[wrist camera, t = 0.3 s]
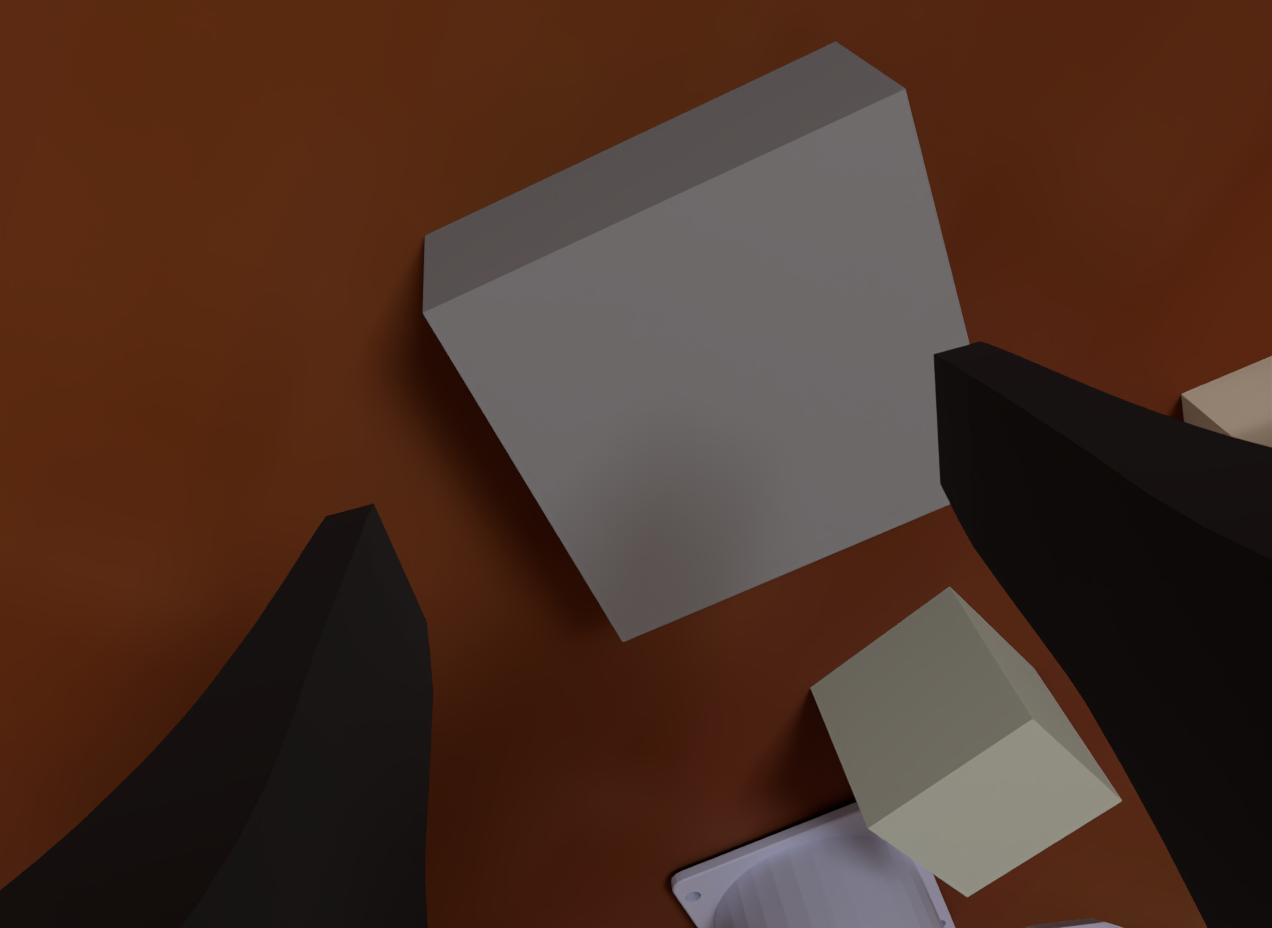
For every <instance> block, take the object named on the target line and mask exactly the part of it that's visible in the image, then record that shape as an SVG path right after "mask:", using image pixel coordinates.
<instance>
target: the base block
mask: <svg viewBox="0 0 1272 928" xmlns="http://www.w3.org/2000/svg"><path fill="white" fill-rule="evenodd" d="M423 314H424V316H425V318H426V319H427V321H428V323H429V324H430V326H431V328H432V329H433V331H434V332H435V334H436V336H437V337H438V339H439V341H440V342H441V344H442V346H443V347H444V349H445V351H446V352H447V354H448V356H449V357H450V359H451V360H452V362H453V364H454V365H455V367H456V369H457V370H458V372H459V374H460V375H461V377H462V379H463V380H464V382H465V384H466V385H467V387H468V388H469V390H470V392H471V393H472V395H473V397H474V398H475V400H476V402H477V403H478V405H479V407H480V408H481V410H482V411H483V413H484V415H485V416H486V418H487V420H488V421H489V423H490V425H491V426H492V428H493V430H494V431H495V433H496V435H497V436H498V438H499V439H500V441H501V443H502V444H503V446H504V448H505V449H506V451H507V453H508V454H509V456H510V458H511V459H512V461H513V463H514V464H515V466H516V467H517V469H518V471H519V472H520V474H521V476H522V477H523V479H524V481H525V482H526V484H527V486H528V487H529V489H530V491H531V492H532V494H533V495H534V497H535V499H536V500H537V502H538V504H539V505H540V507H541V509H542V510H543V512H544V514H545V515H546V517H547V519H548V520H549V522H550V523H551V525H552V527H553V528H554V530H555V532H556V533H557V535H558V537H559V538H560V540H561V542H562V543H563V545H564V547H565V548H566V550H567V551H568V553H569V555H570V556H571V558H572V560H573V561H574V563H575V565H576V566H577V568H578V570H579V571H580V573H581V575H582V576H583V578H584V579H585V581H586V583H587V584H588V586H589V588H590V589H591V591H592V593H593V594H594V596H595V598H596V599H597V601H598V602H599V604H600V606H601V607H602V609H603V611H604V612H605V614H606V616H607V617H608V619H609V621H610V622H611V624H612V626H613V627H614V629H615V630H616V632H617V634H618V635H619V637H620V639H621V640H622V642H625V641H627V640H630V639H632V638H635V637H637V636H639V635H642V634H644V633H646V632H649V631H651V630H653V629H656V628H658V627H661V626H663V625H665V624H668V623H670V622H672V621H675V620H677V619H679V618H682V617H684V616H687V615H689V614H691V613H694V612H696V611H698V610H701V609H703V608H705V607H708V606H710V605H713V604H715V603H717V602H720V601H722V600H724V599H727V598H729V597H731V596H734V595H736V594H739V593H741V592H743V591H746V590H748V589H750V588H753V587H755V586H758V585H760V584H762V583H765V582H767V581H769V580H772V579H774V578H776V577H779V576H781V575H784V574H786V573H788V572H791V571H793V570H795V569H798V568H800V567H802V566H805V565H807V564H810V563H812V562H814V561H817V560H819V559H821V558H824V557H826V556H828V555H831V554H833V553H836V552H838V551H840V550H843V549H845V548H847V547H850V546H852V545H854V544H857V543H859V542H862V541H864V540H866V539H869V538H871V537H873V536H876V535H878V534H880V533H883V532H885V531H888V530H890V529H892V528H895V527H897V526H899V525H902V524H904V523H907V522H909V521H911V520H914V519H916V518H918V517H921V516H923V515H925V514H928V513H930V512H933V511H935V510H937V509H940V508H942V507H944V506H947V505H949V504H950V502H949V500H948V498H947V496H946V494H945V492H944V490H943V489H942V487H941V485H940V470H939V451H938V432H937V412H936V393H935V373H934V354H936V353H939V352H943V351H947V350H951V349H954V348H958V347H962V346H966V345H969V340H968V336H967V332H966V328H965V324H964V320H963V316H962V312H961V308H960V304H959V300H958V296H957V292H956V289H955V285H954V281H953V277H952V273H951V269H950V265H949V261H948V257H947V253H946V249H945V245H944V241H943V237H942V233H941V229H940V225H939V221H938V217H937V213H936V209H935V205H934V201H933V197H932V193H931V189H930V185H929V181H928V177H927V173H926V169H925V165H924V161H923V157H922V153H921V149H920V145H919V141H918V137H917V133H916V129H915V125H914V121H913V118H912V114H911V110H910V106H909V102H908V98H907V94H906V90H905V88H903V87H902V86H900V85H899V84H897V83H896V82H895V81H893V80H892V79H890V78H889V77H887V76H886V75H884V74H883V73H881V72H880V71H878V70H877V69H875V68H874V67H872V66H871V65H869V64H868V63H867V62H865V61H864V60H862V59H861V58H859V57H858V56H856V55H855V54H853V53H852V52H850V51H849V50H847V49H846V48H844V47H843V46H842V45H840V44H839V43H837V42H834V43H832V44H830V45H827V46H825V47H823V48H821V49H819V50H817V51H815V52H813V53H811V54H808V55H806V56H804V57H802V58H800V59H798V60H796V61H794V62H792V63H789V64H787V65H785V66H783V67H781V68H779V69H777V70H775V71H772V72H770V73H768V74H766V75H764V76H762V77H760V78H758V79H756V80H753V81H751V82H749V83H747V84H745V85H743V86H741V87H739V88H737V89H734V90H732V91H730V92H728V93H726V94H724V95H722V96H720V97H717V98H715V99H713V100H711V101H709V102H707V103H705V104H703V105H701V106H698V107H696V108H694V109H692V110H690V111H688V112H686V113H684V114H682V115H679V116H677V117H675V118H673V119H671V120H669V121H667V122H665V123H662V124H660V125H658V126H656V127H654V128H652V129H650V130H648V131H646V132H643V133H641V134H639V135H637V136H635V137H633V138H631V139H629V140H626V141H624V142H622V143H620V144H618V145H616V146H614V147H612V148H610V149H607V150H605V151H603V152H601V153H599V154H597V155H595V156H593V157H591V158H588V159H586V160H584V161H582V162H580V163H578V164H576V165H574V166H571V167H569V168H567V169H565V170H563V171H561V172H559V173H557V174H555V175H552V176H550V177H548V178H546V179H544V180H542V181H540V182H538V183H536V184H533V185H531V186H529V187H527V188H525V189H523V190H521V191H519V192H516V193H514V194H512V195H510V196H508V197H506V198H504V199H502V200H500V201H497V202H495V203H493V204H491V205H489V206H487V207H485V208H483V209H481V210H478V211H476V212H474V213H472V214H470V215H468V216H466V217H464V218H461V219H459V220H457V221H455V222H453V223H451V224H449V225H447V226H445V227H442V228H440V229H438V230H436V231H434V232H432V233H430V234H428V235H426V236H425V249H424V284H423Z"/></svg>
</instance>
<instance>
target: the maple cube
mask: <svg viewBox="0 0 1272 928" xmlns="http://www.w3.org/2000/svg"><path fill="white" fill-rule="evenodd" d="M1181 397H1182V407H1183V417H1184V422H1186V423H1189V424H1192V425H1195V426H1198V427H1201V428H1204V429H1207V430H1211V431H1214V432H1217V433H1221V434H1224V435H1227V436H1231V437H1234V438H1238V439H1242V440H1246V441H1249V442H1253V443H1257V444H1261V445H1265V446H1268V447H1272V356H1271V357H1268V358H1266V359H1264V360H1261V361H1259V362H1257V363H1254V364H1252V365H1249V366H1247V367H1245V368H1242V369H1240V370H1237V371H1235V372H1233V373H1230V374H1228V375H1225V376H1223V377H1221V378H1218V379H1216V380H1214V381H1211V382H1209V383H1206V384H1204V385H1202V386H1199V387H1197V388H1194V389H1192V390H1190V391H1187V392H1185V393H1183V394H1181Z"/></svg>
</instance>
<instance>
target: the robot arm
mask: <svg viewBox="0 0 1272 928" xmlns="http://www.w3.org/2000/svg"><path fill="white" fill-rule="evenodd" d="M934 373H935V393H936V412H937V432H938V451H939V470H940V485H941V487H942V489H943V490H944V492H945V494H946V496H947V498H948V500H949V502H950V504H951V506H952V508H953V510H954V512H955V514H956V516H957V518H958V520H959V522H960V523H961V525H962V527H963V529H964V531H965V532H966V534H967V536H968V538H969V540H970V542H971V543H972V545H973V547H974V548H975V550H976V551H977V552H978V554H979V555H980V557H981V558H982V560H983V561H984V562H985V564H986V565H987V566H988V568H989V569H990V571H991V572H992V573H993V575H994V576H995V577H996V579H997V580H998V582H999V583H1000V584H1001V586H1002V587H1003V589H1004V590H1005V591H1006V593H1007V594H1008V595H1009V597H1010V598H1011V599H1012V601H1013V602H1014V604H1015V605H1016V606H1017V608H1018V609H1019V610H1020V612H1021V613H1022V614H1023V616H1024V617H1025V618H1026V620H1027V621H1028V622H1029V624H1030V625H1031V627H1032V628H1033V629H1034V631H1035V632H1036V633H1037V635H1038V636H1039V637H1040V639H1041V640H1042V641H1043V643H1044V644H1045V646H1046V647H1047V648H1048V650H1049V651H1050V652H1051V654H1052V655H1053V656H1054V658H1055V659H1056V660H1057V662H1058V663H1059V664H1060V666H1061V667H1062V669H1063V670H1064V671H1065V673H1066V674H1067V675H1068V677H1069V678H1070V680H1071V681H1072V683H1073V684H1074V686H1075V687H1076V689H1077V690H1078V692H1079V693H1080V695H1081V696H1082V698H1083V699H1084V701H1085V702H1086V704H1087V706H1088V707H1089V709H1090V711H1091V713H1092V714H1093V716H1094V718H1095V720H1096V721H1097V723H1098V725H1099V727H1100V728H1101V730H1102V732H1103V733H1104V735H1105V737H1106V739H1107V740H1108V742H1109V744H1110V746H1111V747H1112V749H1113V751H1114V753H1115V754H1116V756H1117V758H1118V759H1119V761H1120V763H1121V765H1122V766H1123V768H1124V770H1125V772H1126V774H1127V775H1128V777H1129V779H1130V781H1131V783H1132V785H1133V786H1134V788H1135V790H1136V792H1137V794H1138V796H1139V797H1140V799H1141V801H1142V803H1143V805H1144V807H1145V808H1146V810H1147V812H1148V814H1149V816H1150V818H1151V819H1152V821H1153V823H1154V825H1155V827H1156V829H1157V830H1158V832H1159V834H1160V836H1161V838H1162V840H1163V842H1164V844H1165V845H1166V847H1167V849H1168V851H1169V853H1170V855H1171V857H1172V859H1173V861H1174V863H1175V865H1176V867H1177V869H1178V871H1179V873H1180V875H1181V877H1182V879H1183V881H1184V882H1185V884H1186V886H1187V888H1188V890H1189V892H1190V894H1191V896H1192V898H1193V900H1194V902H1195V904H1196V906H1197V908H1198V910H1199V912H1200V914H1201V916H1202V918H1203V920H1204V921H1205V923H1206V926H1207V928H1272V447H1268V446H1265V445H1261V444H1257V443H1253V442H1249V441H1246V440H1242V439H1238V438H1234V437H1231V436H1227V435H1224V434H1221V433H1217V432H1214V431H1211V430H1207V429H1204V428H1201V427H1198V426H1195V425H1192V424H1189V423H1186V422H1184V421H1181V420H1178V419H1175V418H1172V417H1169V416H1166V415H1163V414H1160V413H1157V412H1155V411H1152V410H1149V409H1146V408H1144V407H1141V406H1138V405H1136V404H1133V403H1130V402H1128V401H1125V400H1123V399H1120V398H1118V397H1115V396H1112V395H1110V394H1107V393H1105V392H1103V391H1100V390H1098V389H1095V388H1093V387H1090V386H1088V385H1085V384H1083V383H1081V382H1078V381H1076V380H1074V379H1071V378H1069V377H1066V376H1064V375H1062V374H1059V373H1057V372H1055V371H1052V370H1050V369H1048V368H1045V367H1043V366H1041V365H1038V364H1036V363H1034V362H1031V361H1029V360H1027V359H1024V358H1022V357H1020V356H1017V355H1015V354H1013V353H1010V352H1008V351H1005V350H1003V349H1000V348H998V347H995V346H992V345H990V344H987V343H984V342H977V343H973V344H969V345H966V346H962V347H958V348H954V349H951V350H947V351H943V352H939V353H936V354H934ZM432 706H433V685H432V672H431V659H430V649H429V640H428V630H427V622H426V619H425V617H424V615H423V613H422V610H421V608H420V606H419V604H418V602H417V599H416V597H415V595H414V593H413V590H412V588H411V586H410V584H409V581H408V579H407V577H406V575H405V573H404V570H403V568H402V566H401V564H400V561H399V559H398V557H397V555H396V553H395V550H394V548H393V546H392V544H391V541H390V539H389V537H388V535H387V532H386V530H385V528H384V526H383V524H382V521H381V519H380V517H379V515H378V512H377V510H376V508H375V506H374V504H371V505H367V506H363V507H359V508H356V509H352V510H348V511H344V512H341V513H337V514H333V515H329V516H326V517H325V519H324V520H323V522H322V523H321V524H320V526H319V527H318V529H317V530H316V532H315V533H314V535H313V536H312V538H311V539H310V541H309V543H308V544H307V546H306V547H305V549H304V550H303V552H302V554H301V555H300V557H299V558H298V560H297V561H296V563H295V565H294V566H293V568H292V569H291V571H290V572H289V574H288V576H287V577H286V579H285V580H284V582H283V583H282V585H281V586H280V588H279V589H278V591H277V592H276V594H275V595H274V597H273V598H272V600H271V601H270V603H269V604H268V606H267V607H266V609H265V610H264V612H263V613H262V615H261V616H260V618H259V619H258V621H257V622H256V624H255V625H254V627H253V628H252V629H251V631H250V632H249V633H248V635H247V636H246V637H245V639H244V640H243V642H242V643H241V644H240V646H239V647H238V648H237V650H236V651H235V652H234V654H233V655H232V656H231V658H230V659H229V660H228V662H227V663H226V664H225V666H224V667H223V668H222V670H221V671H220V672H219V674H218V675H217V676H216V678H215V679H214V681H213V682H212V683H211V685H210V686H209V687H208V688H207V690H206V691H205V692H204V693H203V695H202V696H201V697H200V698H199V700H198V701H197V702H196V703H195V704H194V706H193V707H192V708H191V709H190V710H189V711H188V713H187V714H186V715H185V716H184V717H183V719H182V720H181V721H180V722H179V723H178V724H177V725H176V726H175V727H174V729H173V730H172V731H171V732H170V733H169V734H168V735H167V736H166V737H165V739H164V740H163V741H162V742H161V743H160V744H159V745H158V746H157V747H156V749H155V750H154V751H153V752H152V753H151V754H150V755H149V756H148V757H147V758H146V759H145V760H144V761H143V762H142V763H141V764H140V765H139V766H138V767H137V768H136V769H135V770H134V771H133V772H132V773H131V774H130V775H129V776H128V777H127V778H126V779H125V780H124V781H123V782H122V783H121V784H120V785H119V786H118V787H117V788H116V789H115V790H114V791H113V792H112V793H111V794H110V795H108V796H107V797H106V798H105V799H104V800H103V801H102V802H101V803H100V804H99V805H98V806H97V807H96V808H95V809H94V810H93V811H92V812H91V813H90V814H89V815H88V816H87V817H86V818H85V819H84V820H83V821H82V822H81V823H79V824H78V825H77V826H76V827H75V828H74V829H73V830H72V831H71V832H69V833H68V834H67V835H66V836H65V837H64V838H62V839H61V840H60V841H59V842H58V843H57V844H56V845H54V846H53V847H52V848H51V849H50V850H49V851H48V852H46V853H45V854H44V855H43V856H42V857H41V858H39V859H38V860H37V861H36V862H35V863H33V864H32V865H31V866H30V867H29V868H27V869H26V870H25V871H24V872H22V873H21V874H20V875H19V876H18V877H16V878H15V879H14V880H13V881H11V882H10V883H9V884H8V885H7V886H5V887H4V888H3V889H2V890H0V928H428V924H427V907H426V890H425V845H426V826H427V807H428V788H429V769H430V750H431V729H432ZM671 885H672V890H673V893H674V895H675V896H676V898H677V899H678V900H679V902H680V903H681V905H682V906H683V908H684V909H685V910H686V912H687V913H688V915H689V916H690V918H691V919H692V920H693V922H694V923H695V925H696V926H697V928H955V926H954V924H953V921H952V919H951V917H950V914H949V912H948V909H947V907H946V904H945V902H944V900H943V897H942V895H941V892H940V890H939V888H938V885H937V883H936V880H935V878H934V875H933V873H931V872H930V871H929V870H927V869H926V868H924V867H923V866H921V865H920V864H918V863H917V862H915V861H914V860H913V859H911V858H910V857H908V856H907V855H905V854H904V853H902V852H901V851H900V850H898V849H897V848H895V847H894V846H892V845H891V844H889V843H888V842H887V841H885V840H884V839H882V838H881V837H879V836H878V835H876V834H875V833H873V832H872V831H871V830H869V829H868V828H867V826H866V823H865V821H864V818H863V816H862V813H861V811H860V808H859V806H858V803H857V802H855V803H852V804H850V805H847V806H845V807H842V808H840V809H837V810H835V811H832V812H830V813H827V814H825V815H822V816H819V817H817V818H814V819H812V820H809V821H807V822H804V823H802V824H799V825H797V826H794V827H792V828H789V829H786V830H784V831H781V832H779V833H776V834H774V835H771V836H769V837H766V838H764V839H761V840H759V841H756V842H753V843H751V844H748V845H746V846H743V847H741V848H738V849H736V850H733V851H731V852H728V853H726V854H723V855H720V856H718V857H715V858H713V859H710V860H708V861H705V862H703V863H700V864H698V865H695V866H693V867H690V868H687V869H685V870H682V871H680V872H678V873H676V874H675V875H674V876H673V877H672V880H671ZM1025 928H1122V927H1119V926H1116V925H1113V924H1109V923H1106V922H1103V921H1099V920H1096V919H1092V918H1088V919H1080V920H1072V921H1064V922H1055V923H1047V924H1039V925H1032V926H1029V927H1025Z"/></svg>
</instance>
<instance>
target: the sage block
mask: <svg viewBox="0 0 1272 928" xmlns="http://www.w3.org/2000/svg"><path fill="white" fill-rule="evenodd" d="M811 691H812V693H813V696H814V698H815V700H816V703H817V705H818V708H819V710H820V713H821V715H822V718H823V720H824V723H825V725H826V727H827V730H828V732H829V735H830V737H831V740H832V742H833V745H834V747H835V750H836V752H837V754H838V757H839V759H840V762H841V764H842V767H843V769H844V772H845V774H846V776H847V779H848V781H849V784H850V786H851V789H852V791H853V794H854V796H855V799H856V801H857V803H858V806H859V808H860V811H861V813H862V816H863V818H864V821H865V823H866V826H867V828H868V829H869V830H871V831H872V832H873V833H875V834H876V835H878V836H879V837H881V838H882V839H884V840H885V841H887V842H888V843H889V844H891V845H892V846H894V847H895V848H897V849H898V850H900V851H901V852H902V853H904V854H905V855H907V856H908V857H910V858H911V859H913V860H914V861H915V862H917V863H918V864H920V865H921V866H923V867H924V868H926V869H927V870H929V871H930V872H931V873H933V874H934V875H936V876H937V877H939V878H940V879H942V880H943V881H944V882H946V883H947V884H949V885H950V886H952V887H953V888H955V889H956V890H957V891H959V892H960V893H962V894H963V895H965V896H966V897H969V896H970V895H972V894H973V893H975V892H977V891H978V890H980V889H981V888H983V887H985V886H986V885H988V884H989V883H991V882H993V881H994V880H996V879H997V878H999V877H1001V876H1002V875H1004V874H1006V873H1007V872H1009V871H1010V870H1012V869H1014V868H1015V867H1017V866H1018V865H1020V864H1022V863H1023V862H1025V861H1026V860H1028V859H1030V858H1031V857H1033V856H1034V855H1036V854H1038V853H1039V852H1041V851H1043V850H1044V849H1046V848H1047V847H1049V846H1051V845H1052V844H1054V843H1055V842H1057V841H1059V840H1060V839H1062V838H1063V837H1065V836H1067V835H1068V834H1070V833H1071V832H1073V831H1075V830H1076V829H1078V828H1080V827H1081V826H1083V825H1084V824H1086V823H1088V822H1089V821H1091V820H1092V819H1094V818H1096V817H1097V816H1099V815H1100V814H1102V813H1104V812H1105V811H1107V810H1108V809H1110V808H1112V807H1113V806H1115V805H1116V804H1118V803H1120V802H1121V801H1122V800H1121V798H1120V797H1119V795H1118V794H1117V792H1116V791H1115V789H1114V788H1113V786H1112V785H1111V783H1110V782H1109V780H1108V779H1107V777H1106V776H1105V774H1104V773H1103V771H1102V770H1101V768H1100V767H1099V765H1098V764H1097V762H1096V761H1095V759H1094V758H1093V756H1092V755H1091V753H1090V752H1089V750H1088V749H1087V747H1086V746H1085V744H1084V743H1083V741H1082V740H1081V738H1080V737H1079V735H1078V734H1077V732H1076V731H1075V729H1074V728H1073V726H1072V725H1071V723H1070V722H1069V720H1068V719H1067V717H1066V716H1065V714H1064V713H1063V711H1062V710H1061V708H1060V707H1059V705H1058V704H1057V702H1056V701H1055V699H1054V698H1053V696H1052V695H1051V693H1050V692H1049V690H1048V689H1047V687H1046V686H1045V684H1044V683H1043V681H1042V680H1041V678H1040V677H1039V675H1038V674H1037V672H1036V671H1035V669H1034V668H1033V667H1032V666H1031V665H1030V664H1029V663H1028V662H1027V661H1026V660H1025V659H1024V658H1023V657H1022V656H1021V655H1020V654H1019V653H1018V652H1017V651H1015V650H1014V649H1013V648H1012V647H1011V646H1010V645H1009V644H1008V643H1007V642H1006V641H1005V640H1004V639H1003V638H1002V637H1001V636H1000V635H999V634H998V633H997V632H996V631H995V630H994V629H993V628H992V627H991V626H990V625H989V624H988V623H987V622H986V621H985V620H984V619H983V618H981V617H980V616H979V615H978V614H977V613H976V612H975V611H974V610H973V609H972V608H971V607H970V606H969V605H968V604H967V603H966V602H965V601H964V600H963V599H962V598H961V597H960V596H959V595H958V594H957V593H956V592H955V591H954V590H953V589H952V588H951V587H948V588H947V589H945V590H944V591H943V592H941V593H940V594H939V595H937V596H936V597H934V598H933V599H932V600H930V601H929V602H928V603H926V604H925V605H923V606H922V607H921V608H919V609H918V610H917V611H915V612H914V613H912V614H911V615H910V616H908V617H907V618H906V619H904V620H903V621H901V622H900V623H899V624H897V625H896V626H895V627H893V628H892V629H890V630H889V631H888V632H886V633H885V634H884V635H882V636H881V637H879V638H878V639H877V640H875V641H874V642H873V643H871V644H870V645H868V646H867V647H866V648H864V649H863V650H862V651H860V652H859V653H857V654H856V655H855V656H853V657H852V658H851V659H849V660H848V661H846V662H845V663H844V664H842V665H841V666H840V667H838V668H837V669H835V670H834V671H833V672H831V673H830V674H829V675H827V676H826V677H824V678H823V679H822V680H820V681H819V682H818V683H816V684H815V685H813V686H812V687H811Z"/></svg>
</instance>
